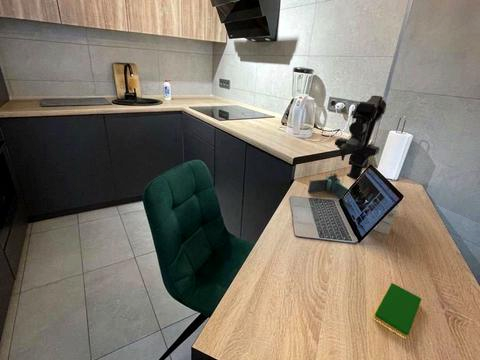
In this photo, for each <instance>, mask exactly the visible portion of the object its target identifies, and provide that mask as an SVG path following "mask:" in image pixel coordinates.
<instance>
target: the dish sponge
mask: <svg viewBox="0 0 480 360" xmlns="http://www.w3.org/2000/svg"><path fill="white" fill-rule="evenodd" d="M421 301H422V298H421V297H419V296H417V295H416V294H414V293H412V292H410V291H408V290H406V289H404V288H403V287H401V286H399V285H397V284H395V283H393V282H392V283H390V285H389V287H388V289H387V291H386V293H385V294H384V297H383V298H382V300H381V302H380V303H379V306H378V308H377V310H376V311H375V313H374V316H373V318H375V319H376V320H378V321H380V322H381V323H383V324H384V325H386V326H387V327H389V328H391V329H392V330H394V331H396V332H397V333H399V334H401V335H402V336H404V337H407V338H408V336H409V335H410V332H411V329H412V325H413V324H414V321H415V319H416V315H417V312H418V310H419V306H420V304H421Z"/></svg>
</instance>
